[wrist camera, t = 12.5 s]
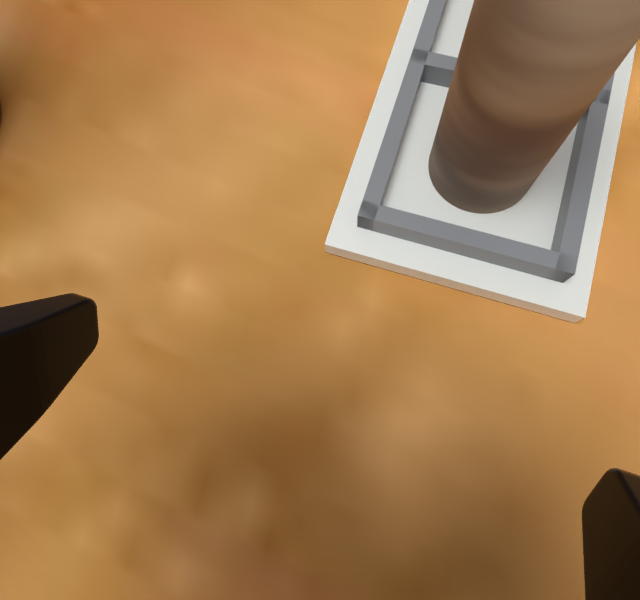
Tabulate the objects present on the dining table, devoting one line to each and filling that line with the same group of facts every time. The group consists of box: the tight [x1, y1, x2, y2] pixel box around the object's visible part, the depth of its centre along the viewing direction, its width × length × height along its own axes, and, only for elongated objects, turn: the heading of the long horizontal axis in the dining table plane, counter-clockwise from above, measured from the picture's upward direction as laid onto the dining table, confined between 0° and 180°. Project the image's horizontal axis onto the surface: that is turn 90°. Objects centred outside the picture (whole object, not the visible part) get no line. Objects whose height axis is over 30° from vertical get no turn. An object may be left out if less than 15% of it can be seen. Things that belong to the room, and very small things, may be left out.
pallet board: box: [325, 0, 637, 323], centre depth 24 cm, size 21×12×2 cm, turn 162°
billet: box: [428, 0, 640, 214], centre depth 16 cm, size 5×5×14 cm
